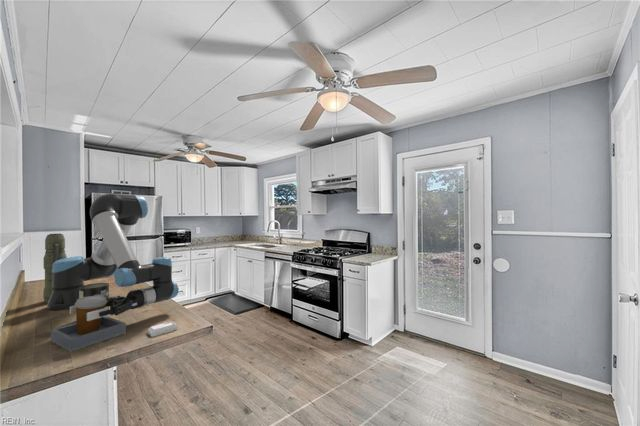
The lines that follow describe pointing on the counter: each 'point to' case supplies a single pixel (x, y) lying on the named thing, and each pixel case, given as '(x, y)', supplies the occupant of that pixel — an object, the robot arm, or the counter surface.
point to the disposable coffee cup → (83, 308)
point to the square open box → (75, 341)
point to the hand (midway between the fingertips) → (78, 313)
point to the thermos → (52, 260)
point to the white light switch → (162, 328)
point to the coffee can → (94, 290)
